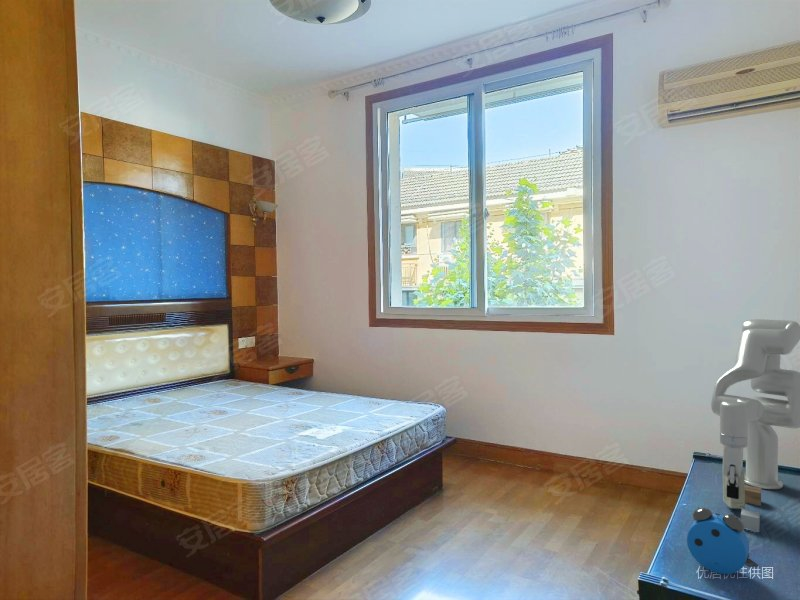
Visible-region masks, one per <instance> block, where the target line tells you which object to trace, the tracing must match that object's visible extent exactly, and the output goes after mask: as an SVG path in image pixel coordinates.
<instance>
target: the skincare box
mask: <svg viewBox="0 0 800 600" xmlns="http://www.w3.org/2000/svg"><path fill="white" fill-rule="evenodd" d="M721 466H722V467H721V469H722V470H721V471H722V500H723V502H724V503H725V504H726V505H727V506H728V507H729V508H730V509H737V510H738V509H740V510H742V509H744V510H746V503H745V484H746V483H745V479H744V474H745V471H744V469H742V472H741V477H740V478H738V486H739V499H734V498H729V497H727V481H728V474H727V475H725V476H724V475H723V464H722V465H721ZM736 474H737V473H736ZM729 475H730V473H729ZM735 476H736V477H737V475H735ZM735 481H736V479H735Z"/></svg>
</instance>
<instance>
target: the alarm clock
mask: <svg viewBox="0 0 800 600" xmlns="http://www.w3.org/2000/svg"><path fill="white" fill-rule="evenodd" d="M692 519H693V523H692V524H691V526H690V528H689V530H688V532H687V535H686V543H687V548H688V550H689V552H690V554H691V556H692V557H693V558H694V559H695V561H696V562H697V563H699V565H701V566H702V567H704V568H705V569H706V570H708V571H711V572H713V573H716V574H721V575H730V574H735V573H738V571H741V570H742V568H744V567H745V562H746V559H747V556H748V553H749V554H750V543H749V539H748V537H747V534H746V533H745V530H744V524H743V522H742V521H741V518H740V517H738V516H736V515H734V514H731V513H727V514H724V515H721V514H720V513H716V512H715V513H713V511H711V509H709V508H707V507H697V508H696V509H695V510H694V511H693V512H692Z"/></svg>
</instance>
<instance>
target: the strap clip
mask: <svg viewBox="0 0 800 600" xmlns="http://www.w3.org/2000/svg"><path fill="white" fill-rule="evenodd" d="M749 557H750V552H749V553H748V556H747V559H746V562H745V564H744V566H747V568H748V567H749V568H752V567H753V568H758V565H759V564H757V563H756V562H755V561H753V560H752V559H751V558H749Z"/></svg>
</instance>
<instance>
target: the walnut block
mask: <svg viewBox="0 0 800 600" xmlns="http://www.w3.org/2000/svg"><path fill="white" fill-rule="evenodd" d="M748 503H749V504H748ZM745 504H748V505H752V504H755V505H754V506H757V505H760V506H759V507H761V505H762V488H758V487H754V486H751V485H747V484H746V485H745Z"/></svg>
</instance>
